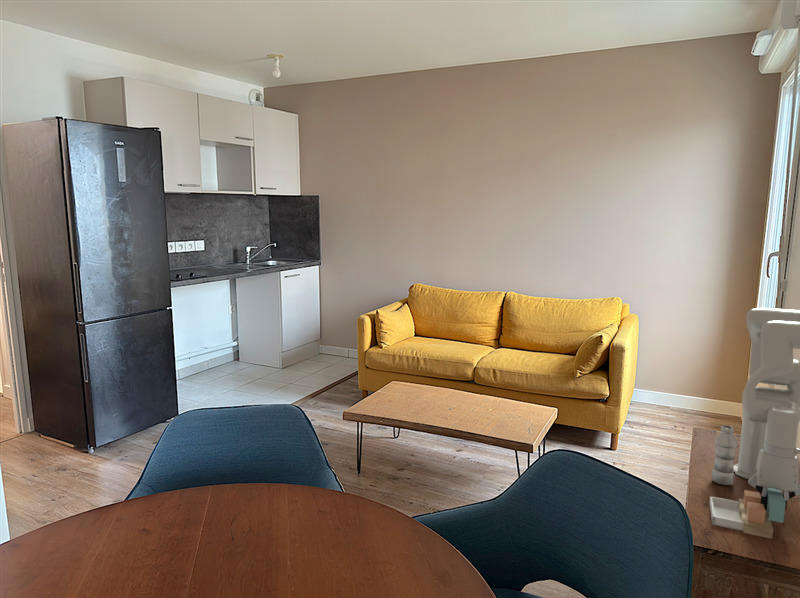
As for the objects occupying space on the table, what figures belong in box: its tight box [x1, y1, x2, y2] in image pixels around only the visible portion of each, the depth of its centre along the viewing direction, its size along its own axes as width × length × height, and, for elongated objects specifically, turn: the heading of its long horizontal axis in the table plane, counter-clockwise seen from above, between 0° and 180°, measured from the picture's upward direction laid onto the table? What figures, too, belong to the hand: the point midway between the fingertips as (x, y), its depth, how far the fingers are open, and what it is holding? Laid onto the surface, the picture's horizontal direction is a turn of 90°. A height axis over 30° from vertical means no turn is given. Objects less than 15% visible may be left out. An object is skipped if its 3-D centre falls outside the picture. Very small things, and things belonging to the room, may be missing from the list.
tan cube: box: [742, 489, 761, 508], centre depth 172 cm, size 4×4×4 cm
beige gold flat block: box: [737, 498, 774, 539], centre depth 168 cm, size 16×7×3 cm, turn 155°
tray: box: [708, 495, 744, 532], centre depth 171 cm, size 14×8×2 cm, turn 155°
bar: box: [766, 488, 786, 524], centre depth 166 cm, size 12×4×6 cm, turn 155°
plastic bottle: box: [711, 424, 739, 486], centre depth 192 cm, size 6×7×20 cm
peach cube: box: [746, 501, 765, 524], centre depth 164 cm, size 4×4×4 cm
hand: (772, 509), depth 166 cm, fingers closed on bar, 3 cm apart
